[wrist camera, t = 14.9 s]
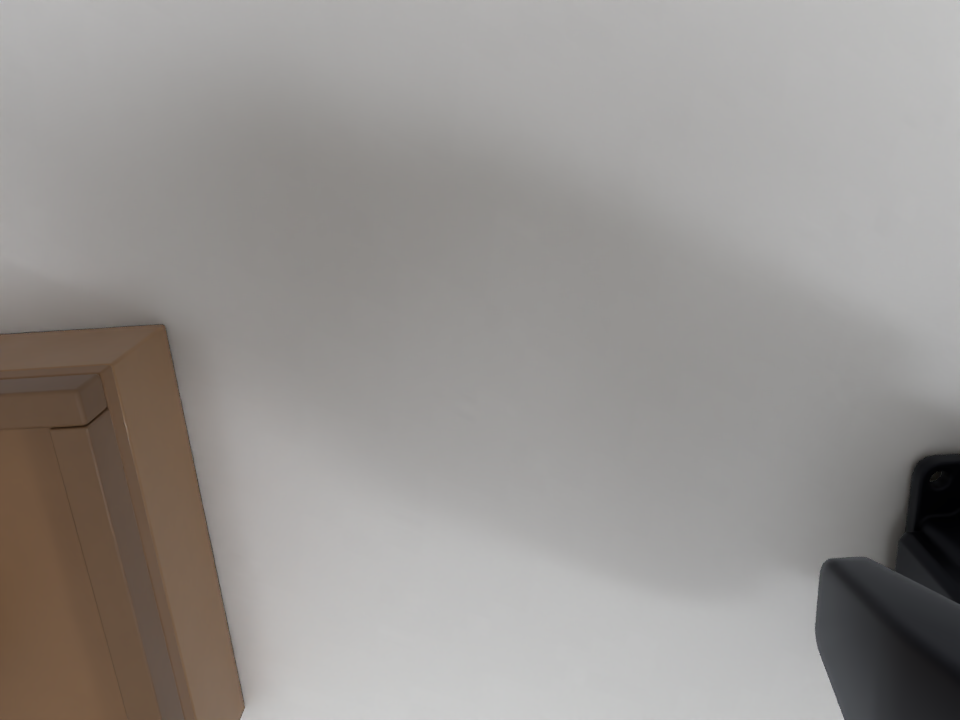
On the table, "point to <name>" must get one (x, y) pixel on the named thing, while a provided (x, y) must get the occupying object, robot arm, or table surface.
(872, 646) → the robot arm
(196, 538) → the wooden tray
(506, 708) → the table surface
